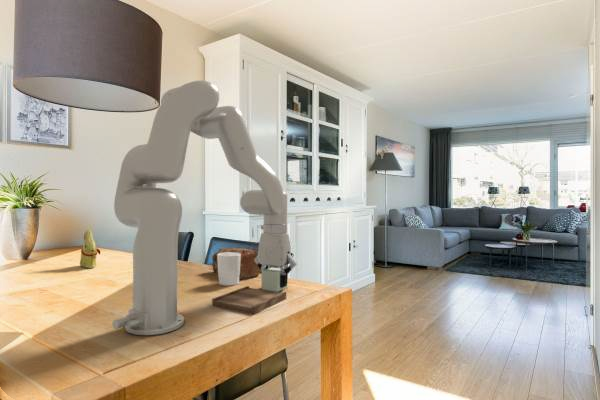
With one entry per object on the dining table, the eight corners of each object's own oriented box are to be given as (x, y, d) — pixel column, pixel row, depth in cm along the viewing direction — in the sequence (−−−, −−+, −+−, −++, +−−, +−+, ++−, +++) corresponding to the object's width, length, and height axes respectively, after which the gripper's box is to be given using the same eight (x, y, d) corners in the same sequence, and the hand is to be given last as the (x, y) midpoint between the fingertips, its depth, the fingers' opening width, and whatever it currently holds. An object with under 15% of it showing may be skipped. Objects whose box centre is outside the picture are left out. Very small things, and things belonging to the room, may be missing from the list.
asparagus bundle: (85, 270, 144) (85, 231, 144) (77, 266, 152) (77, 229, 151) (104, 267, 149) (104, 230, 148) (95, 263, 157) (95, 228, 156)
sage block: (277, 291, 115) (277, 272, 115) (261, 289, 118) (261, 270, 118) (287, 287, 121) (287, 269, 121) (271, 285, 123) (271, 267, 123)
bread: (261, 276, 137) (261, 249, 137) (236, 281, 130) (236, 252, 130) (234, 268, 151) (234, 244, 151) (210, 272, 144) (211, 246, 144)
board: (254, 314, 94) (254, 306, 94) (212, 305, 101) (212, 298, 101) (286, 298, 108) (286, 292, 108) (247, 292, 115) (247, 286, 115)
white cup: (235, 287, 121) (235, 256, 121) (213, 285, 123) (213, 255, 123) (244, 281, 129) (244, 252, 129) (222, 280, 130) (222, 251, 130)
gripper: (246, 228, 120) (245, 284, 120) (292, 232, 112) (292, 291, 112) (259, 227, 126) (258, 279, 127) (304, 230, 118) (303, 286, 119)
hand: (274, 284), depth 119 cm, fingers closed on sage block, 6 cm apart
